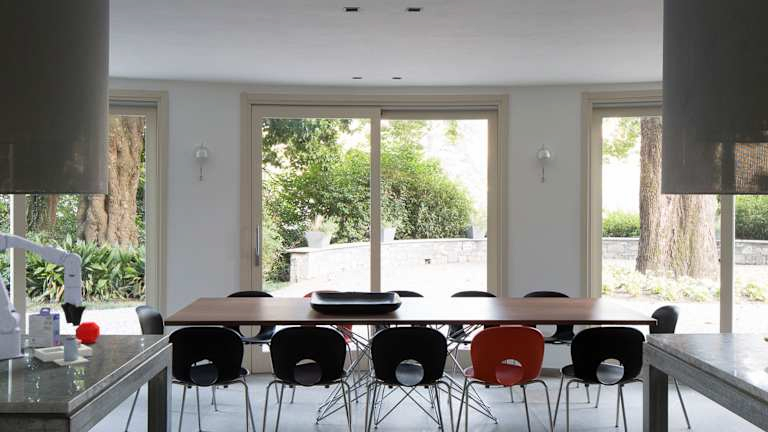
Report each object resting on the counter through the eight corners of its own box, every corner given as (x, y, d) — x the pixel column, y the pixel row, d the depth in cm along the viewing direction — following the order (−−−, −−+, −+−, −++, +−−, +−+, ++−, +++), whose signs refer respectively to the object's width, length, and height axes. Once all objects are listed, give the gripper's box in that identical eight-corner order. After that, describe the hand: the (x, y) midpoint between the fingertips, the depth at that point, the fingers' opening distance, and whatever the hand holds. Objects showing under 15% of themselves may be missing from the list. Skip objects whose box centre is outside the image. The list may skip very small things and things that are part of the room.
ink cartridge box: (60, 344, 277) (60, 307, 277) (53, 347, 271) (53, 309, 271) (35, 344, 277) (34, 307, 277) (27, 347, 272) (27, 309, 271)
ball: (79, 340, 285) (79, 321, 285) (100, 340, 286) (100, 321, 286) (74, 344, 277) (74, 324, 277) (96, 343, 278) (96, 324, 278)
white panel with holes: (44, 361, 246) (44, 354, 246) (34, 356, 255) (34, 349, 255) (92, 355, 256) (92, 348, 256) (81, 350, 266) (81, 343, 266)
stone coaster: (60, 365, 240) (60, 364, 240) (52, 361, 247) (52, 359, 247) (88, 362, 246) (88, 360, 246) (80, 357, 253) (80, 356, 253)
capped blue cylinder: (65, 361, 243) (65, 338, 243) (62, 359, 247) (62, 336, 247) (79, 360, 246) (79, 337, 246) (76, 358, 249) (76, 335, 249)
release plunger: (73, 353, 257) (73, 341, 256) (70, 352, 259) (70, 340, 259) (82, 352, 259) (82, 340, 259) (80, 351, 261) (79, 339, 261)
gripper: (90, 287, 257) (91, 325, 257) (78, 284, 269) (78, 320, 269) (69, 289, 253) (70, 327, 253) (58, 285, 264) (58, 322, 264)
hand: (73, 324), depth 261 cm, fingers open, 7 cm apart
